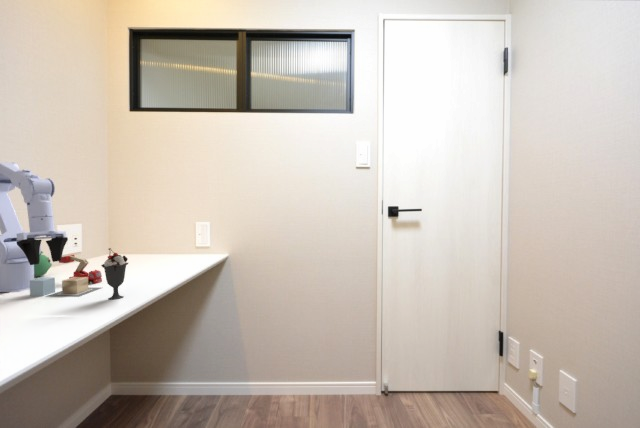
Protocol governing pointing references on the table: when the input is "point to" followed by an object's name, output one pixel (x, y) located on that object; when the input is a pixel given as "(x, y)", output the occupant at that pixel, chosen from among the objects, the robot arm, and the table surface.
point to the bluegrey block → (42, 286)
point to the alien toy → (42, 266)
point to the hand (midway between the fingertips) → (46, 262)
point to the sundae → (115, 272)
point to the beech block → (74, 285)
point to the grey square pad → (59, 294)
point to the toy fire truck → (92, 276)
